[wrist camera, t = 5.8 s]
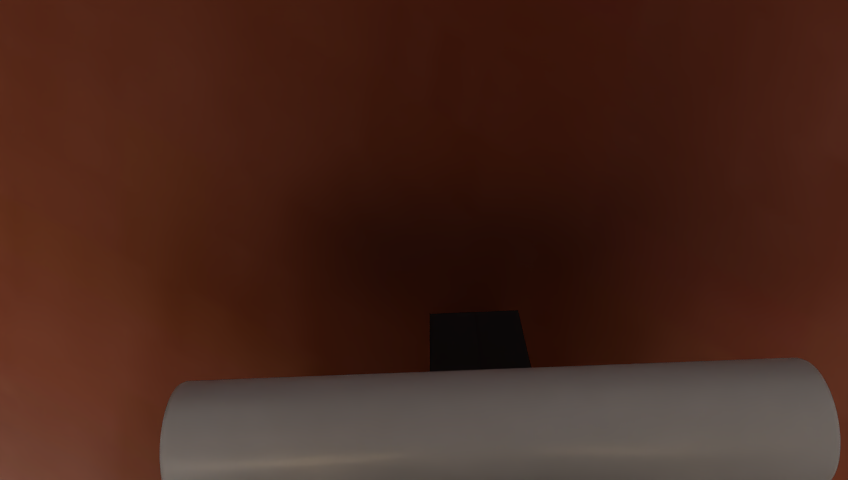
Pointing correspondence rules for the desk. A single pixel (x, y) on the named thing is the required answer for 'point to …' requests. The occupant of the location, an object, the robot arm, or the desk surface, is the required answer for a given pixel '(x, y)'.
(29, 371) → the desk surface
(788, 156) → the desk surface
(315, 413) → the drawer
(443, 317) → the robot arm
